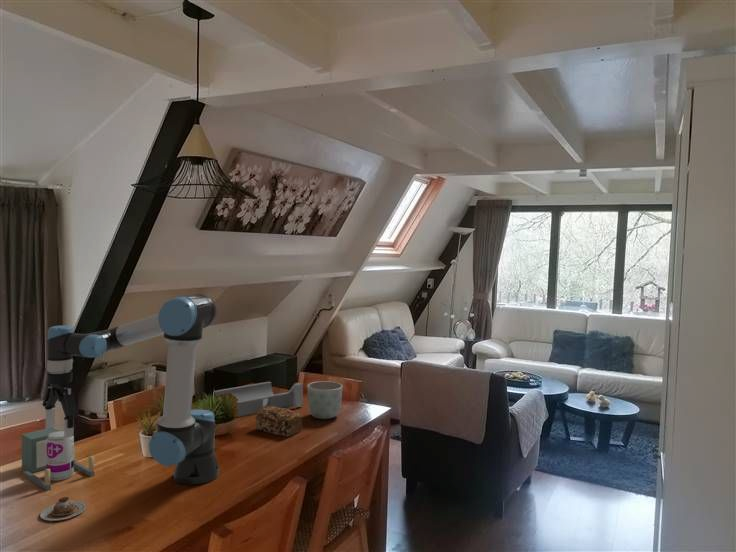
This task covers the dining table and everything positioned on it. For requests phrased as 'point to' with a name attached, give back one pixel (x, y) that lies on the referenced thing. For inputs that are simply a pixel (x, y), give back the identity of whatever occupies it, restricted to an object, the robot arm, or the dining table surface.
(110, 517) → the dining table surface
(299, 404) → the grey channel bracket
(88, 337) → the robot arm
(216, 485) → the dining table surface
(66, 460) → the supplement can
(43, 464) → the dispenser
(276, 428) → the bread
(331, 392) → the planter
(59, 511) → the pastry
